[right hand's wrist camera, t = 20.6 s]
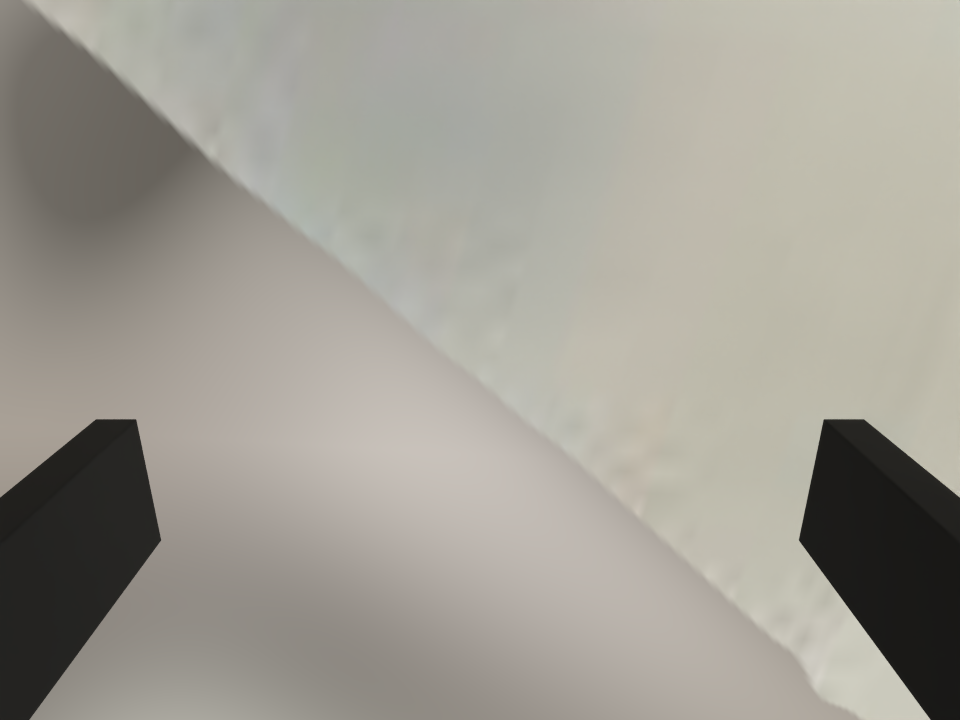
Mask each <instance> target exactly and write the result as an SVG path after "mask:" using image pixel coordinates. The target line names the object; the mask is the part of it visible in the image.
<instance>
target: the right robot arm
mask: <svg viewBox="0 0 960 720" xmlns="http://www.w3.org/2000/svg"><path fill="white" fill-rule="evenodd" d="M160 541H161V538H160V533H159V528H158V523H157V518H156V513H155V508H154V504H153V499H152V494H151V489H150V485H149V479H148V475H147V470H146V465H145V460H144V455H143V450H142V445H141V441H140V436H139V431H138V426H137V421H136V419H132V420H131V419H120V420H119V419H118V420H117V419H113V420H110V419H103V420H102V419H97V420H95V421H94V422H92V423H91V424H90V425H89V426H88V427H86V428H85V429H84V430H83V431H81V432H80V433H79V434H78V435H76V436H75V437H74V438H73V439H71V440H70V441H69V442H68V443H67V444H65V445H64V446H63V447H62V448H61V449H59V450H58V451H57V452H56V453H54V454H53V455H52V456H51V457H49V458H48V459H47V460H46V461H45V462H43V463H42V464H41V465H40V466H38V467H37V468H36V469H35V470H34V471H32V472H31V473H30V474H29V475H27V476H26V477H25V478H24V479H23V480H21V481H20V482H19V483H18V484H16V485H15V486H14V487H13V488H12V489H10V490H9V491H8V492H7V493H5V494H4V495H3V496H2V497H0V720H29V719H30V718H31V717H32V715H33V714H34V713H35V711H36V710H37V708H38V707H39V706H40V704H41V703H42V702H43V700H44V699H45V698H46V696H47V695H48V694H49V692H50V691H51V689H52V688H53V687H54V685H55V684H56V683H57V681H58V680H59V679H60V677H61V676H62V674H63V673H64V672H65V670H66V669H67V668H68V666H69V665H70V664H71V662H72V661H73V660H74V658H75V657H76V655H77V654H78V653H79V651H80V650H81V649H82V647H83V646H84V644H85V643H86V642H87V640H88V639H89V638H90V636H91V635H92V634H93V632H94V631H95V630H96V628H97V627H98V625H99V624H100V623H101V621H102V620H103V619H104V617H105V616H106V614H107V613H108V612H109V610H110V609H111V608H112V606H113V605H114V604H115V602H116V601H117V599H118V598H119V597H120V595H121V594H122V593H123V591H124V590H125V589H126V587H127V586H128V585H129V583H130V582H131V580H132V579H133V578H134V576H135V575H136V574H137V572H138V571H139V570H140V568H141V567H142V566H143V564H144V563H145V561H146V560H147V559H148V557H149V556H150V555H151V553H152V552H153V551H154V549H155V548H156V546H157V545H158V544H159V542H160ZM799 541H800V542H801V544H802V545H803V546H804V548H805V549H806V551H807V552H808V553H809V555H810V556H811V557H812V559H813V560H814V561H815V563H816V564H817V566H818V567H819V568H820V570H821V571H822V572H823V574H824V575H825V576H826V578H827V579H828V581H829V582H830V583H831V585H832V586H833V587H834V589H835V590H836V591H837V593H838V594H839V596H840V597H841V598H842V600H843V601H844V602H845V604H846V605H847V606H848V608H849V609H850V610H851V612H852V613H853V615H854V616H855V617H856V619H857V620H858V621H859V623H860V624H861V625H862V627H863V628H864V630H865V631H866V632H867V634H868V635H869V636H870V638H871V639H872V640H873V642H874V643H875V645H876V646H877V647H878V649H879V650H880V651H881V653H882V654H883V655H884V657H885V658H886V660H887V661H888V662H889V664H890V665H891V666H892V668H893V669H894V670H895V672H896V673H897V674H898V676H899V677H900V679H901V680H902V681H903V683H904V684H905V685H906V687H907V688H908V689H909V691H910V692H911V694H912V695H913V696H914V698H915V699H916V700H917V702H918V703H919V704H920V706H921V707H922V709H923V710H924V711H925V713H926V714H927V715H928V717H929V718H930V719H931V720H960V497H958V496H957V495H956V494H955V493H953V492H952V491H951V490H950V489H949V488H947V487H946V486H945V485H944V484H942V483H941V482H940V481H939V480H938V479H936V478H935V477H934V476H933V475H931V474H930V473H929V472H928V471H926V470H925V469H924V468H923V467H922V466H920V465H919V464H918V463H917V462H915V461H914V460H913V459H912V458H911V457H909V456H908V455H907V454H906V453H904V452H903V451H902V450H901V449H900V448H898V447H897V446H896V445H895V444H893V443H892V442H891V441H890V440H889V439H887V438H886V437H885V436H884V435H882V434H881V433H880V432H879V431H877V430H876V429H875V428H874V427H873V426H871V425H870V424H869V423H868V422H866V421H865V420H864V419H824V421H823V426H822V431H821V436H820V441H819V445H818V450H817V455H816V460H815V465H814V470H813V475H812V479H811V484H810V489H809V494H808V499H807V504H806V508H805V513H804V518H803V523H802V528H801V533H800V538H799Z"/></svg>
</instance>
